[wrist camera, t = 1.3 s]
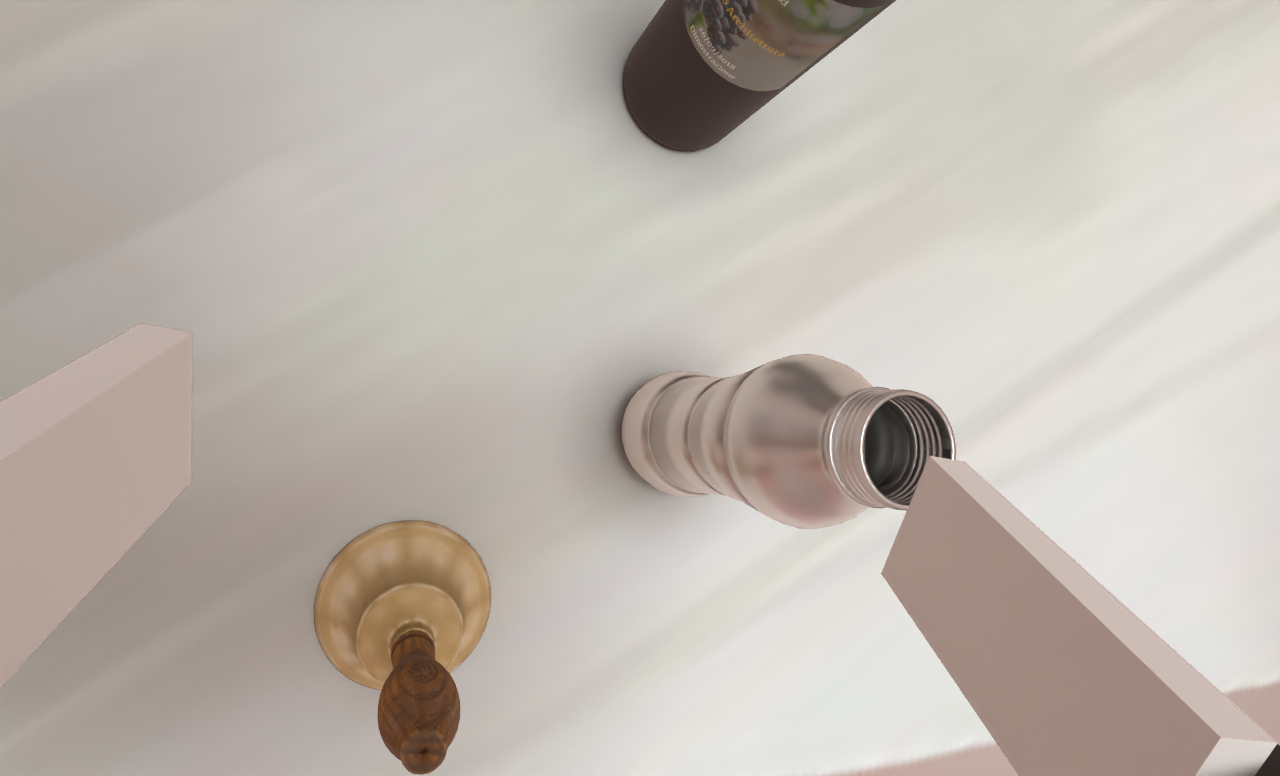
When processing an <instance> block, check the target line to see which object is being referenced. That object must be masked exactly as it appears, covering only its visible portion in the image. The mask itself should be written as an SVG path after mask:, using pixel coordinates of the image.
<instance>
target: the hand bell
mask: <svg viewBox="0 0 1280 776" xmlns="http://www.w3.org/2000/svg"><path fill="white" fill-rule="evenodd" d="M490 605H491V587H490V582H489V578H488V574H487V571H486V568H485V566H484V564H483V562H482V559H481V558H480V556H479V555H478V553H477V552H476V551H475V549H474V548H473V547H472V546H471V545H470V544H469V543H468V542H467V541H466V540H465V539H464V538H462V537H461V536H460V535H458V534H457V533H455V532H454V531H452V530H450V529H448V528H446V527H443V526H440V525H437V524H434V523H430V522H425V521H400V522H392V523H389V524H385V525H381V526H378V527H376V528H374V529H372V530H370V531H367V532H365V533H364V534H362V535H360V536H358V537H357V538H356V539H354V540H353V541H352V542H350V543H349V544H348V545H347V546H346V547H345V548H344V549H343V550H342V551H341V552H340V553H339V554H338V555H337V556H336V557H335V558H334V559H333V561H332V562H331V563H330V565H329V566H328V568H327V570H326V572H325V574H324V576H323V578H322V580H321V582H320V585H319V588H318V591H317V595H316V600H315V608H314V624H315V630H316V634H317V637H318V640H319V643H320V645H321V648H322V650H323V651H324V653H325V655H326V656H327V658H328V659H329V660H330V662H331V663H332V664H333V665H334V667H335V668H336V669H337V670H338V671H340V672H341V673H342V674H343V675H345V676H346V677H347V678H349V679H351V680H352V681H354V682H356V683H359V684H361V685H363V686H366V687H369V688H373V689H377V690H382V691H381V694H380V699H379V705H378V725H379V730H380V734H381V737H382V739H383V741H384V743H385V745H386V747H387V748H388V749H389V750H390V752H391V753H392V754H393V755H394V756H395V757H397V758H398V759H399V760H401V761H402V764H403V765H404V766H405V768H406V769H407V770H408V771H410V772H411V773H413V774H427V773H430V772H432V771H434V770H435V769H436V768H437V767H438V766H439V765H440V764H441V763H442V762H443V760H444V758H445V756H446V751H447V749H448V747H449V745H450V744H451V742H452V741H453V739H454V737H455V734H456V732H457V729H458V724H459V719H460V700H459V695H458V691H457V688H456V685H455V683H454V680H453V679H452V677H451V675H450V674H449V673H450V672H451V671H453V670H454V669H455V668H456V667H458V666H459V665H460V664H461V663H462V662H463V661H464V660H465V659H466V658H467V657H468V656H469V655H470V653H471V652H472V651H473V649H474V648H475V647H476V645H477V643H478V642H479V640H480V638H481V636H482V634H483V632H484V630H485V627H486V624H487V621H488V618H489V613H490Z"/></svg>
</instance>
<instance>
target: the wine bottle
mask: <svg viewBox="0 0 1280 776" xmlns="http://www.w3.org/2000/svg"><path fill="white" fill-rule="evenodd" d="M894 1H896V0H666V1H665V2H664V4H663V5H662V7H661V8H660V9H659V11H658V12H657V14H656V15H655V17H654V18H653V19H652V21H651V22H650V24H649V25H648V27H647V28H646V30H645V31H644V32H643V34H642V35H641V37H640V38H639V40H638V41H637V43H636V44H635V45H634V47H633V49H632V51H631V53H630V55H629V57H628V61H627V64H626V68H625V74H624V91H625V97H626V101H627V104H628V107H629V110H630V112H631V114H632V116H633V118H634V119H635V121H636V122H637V124H638V125H639V126H640V128H641V129H642V130H643V131H644V132H645V133H646V134H647V135H648V136H649V137H650V138H652V139H653V140H655V141H656V142H658V143H659V144H661V145H663V146H666V147H668V148H671V149H675V150H680V151H694V150H698V149H703V148H707V147H709V146H711V145H713V144H715V143H717V142H719V141H720V140H721V139H722V138H724V137H725V136H726V135H727V134H729V133H730V132H731V131H732V130H734V129H735V128H736V127H737V126H739V125H740V124H741V123H742V122H744V121H745V120H746V119H747V118H749V117H750V116H751V115H753V114H754V113H755V112H756V111H758V110H759V109H760V108H761V107H763V106H764V105H765V104H766V103H768V102H769V101H770V100H771V99H773V98H774V97H775V96H776V95H778V94H779V93H780V92H781V91H783V90H784V89H785V88H786V87H788V86H789V85H790V84H791V83H793V82H794V81H795V80H796V79H798V78H799V77H800V76H801V75H803V74H804V73H805V72H807V71H808V70H809V69H810V68H812V67H813V66H814V65H815V64H817V63H818V62H819V61H820V60H822V59H823V58H824V57H825V56H827V55H828V54H829V53H830V52H832V51H833V50H834V49H835V48H837V47H838V46H839V45H840V44H842V43H843V42H844V41H845V40H847V39H848V38H849V37H850V36H852V35H853V34H854V33H855V32H857V31H858V30H859V29H861V28H862V27H863V26H864V25H866V24H867V23H868V22H869V21H871V20H872V19H873V18H874V17H876V16H877V15H878V14H879V13H881V12H882V11H883V10H884V9H886V8H887V7H888V6H889V5H891V4H892V3H893V2H894Z"/></svg>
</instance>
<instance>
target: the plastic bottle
mask: <svg viewBox="0 0 1280 776" xmlns="http://www.w3.org/2000/svg"><path fill="white" fill-rule="evenodd" d="M622 441H623V447H624V450H625V453H626V456H627V458H628V460H629V462H630V464H631V465H632V467H633V468H634V469H635V471H636V472H637V473H638V474H639V475H640V476H641V477H642V478H643V479H644V480H646V481H647V482H648V483H649V484H650V485H652V486H653V487H654V488H656V489H658V490H660V491H662V492H663V493H666V494H670V495H673V496H682V497H692V496H701V495H708V494H723V495H726V496H728V497H731V498H734V499H737V500H740V501H742V502H744V503H745V504H747V505H749V506H751V507H752V508H754V509H756V510H758V511H759V512H761V513H762V514H764V515H766V516H768V517H770V518H771V519H773V520H776V521H779V522H781V523H783V524H786V525H789V526H793V527H796V528H801V529H818V528H824V527H829V526H833V525H837V524H841V523H843V522H846V521H848V520H850V519H853V518H854V517H856V516H857V515H859V514H860V513H861V512H863V511H864V510H865V509H867V508H868V507H872V508H886V507H887V508H892V509H897V510H908V507H909V505H910V502H911V500H912V497H913V495H914V492H915V490H916V488H917V485H918V483H919V480H920V478H921V475H922V473H923V471H924V468H925V466H926V463H927V461H928V458H929V456H934V457H940V458H946V459H952V460H956V446H955V438H954V434H953V431H952V427H951V425H950V423H949V421H948V419H947V417H946V415H945V414H944V412H943V411H942V409H941V408H940V407H939V406H938V405H937V404H936V403H935V402H934V401H933V400H931V399H930V398H928V397H927V396H925V395H923V394H920V393H918V392H913V391H909V390H890V389H888V388H882V387H873V386H872V385H871V384H870V383H869V382H868V381H867V380H866V379H865V378H864V377H863V376H862V375H861V374H860V373H858V372H857V371H855V370H854V369H852V368H850V367H849V366H847V365H844V364H842V363H839V362H837V361H834V360H831V359H829V358H826V357H823V356H819V355H812V354H799V355H791V356H788V357H784V358H781V359H777V360H774V361H771V362H768V363H766V364H764V365H762V366H760V367H757V368H755V369H753V370H751V371H748V372H746V373H744V374H741V375H736V376H732V377H727V378H713V377H710V376H707V375H704V374H699V373H693V372H686V371H676V372H669V373H666V374H663V375H660V376H658V377H656V378H655V379H653V380H651V381H650V382H648V383H647V384H645V385H644V386H643V387H642V388H641V389H640V390H638V391H637V392H636V393H635V395H634V396H633V397H632V399H631V400H630V402H629V404H628V406H627V408H626V410H625V413H624V417H623V421H622Z"/></svg>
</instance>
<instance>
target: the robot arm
mask: <svg viewBox="0 0 1280 776" xmlns="http://www.w3.org/2000/svg"><path fill="white" fill-rule="evenodd" d="M192 372H193V332H188V331H182V330H176V329H170V328H164V327H158V326H152V325H146V324H139V325H137V326H135V327H133V328H132V329H130V330H128V331H126V332H124V333H123V334H121V335H119V336H117V337H116V338H114V339H112V340H110V341H108V342H107V343H105V344H103V345H101V346H100V347H98V348H96V349H94V350H92V351H91V352H89V353H87V354H85V355H83V356H82V357H80V358H78V359H76V360H75V361H73V362H71V363H69V364H67V365H66V366H64V367H62V368H60V369H59V370H57V371H55V372H53V373H51V374H50V375H48V376H46V377H44V378H42V379H41V380H39V381H37V382H35V383H34V384H32V385H30V386H28V387H26V388H25V389H23V390H21V391H19V392H18V393H16V394H14V395H12V396H10V397H9V398H7V399H5V400H3V401H1V402H0V688H1V687H2V686H3V685H4V684H5V682H6V681H7V680H8V679H9V678H10V677H11V676H12V675H13V674H14V673H15V672H16V671H17V670H18V668H19V667H20V666H21V665H22V664H23V663H24V662H25V661H26V660H27V659H28V658H29V657H30V656H31V654H32V653H33V652H34V651H35V650H36V649H37V648H38V647H39V646H40V645H41V644H42V643H43V642H44V640H45V639H46V638H47V637H48V636H49V635H50V634H51V633H52V632H53V631H54V630H55V629H56V628H57V626H58V625H59V624H60V623H61V622H62V621H63V620H64V619H65V618H66V617H67V616H68V615H69V614H70V612H71V611H72V610H73V609H74V608H75V607H76V606H77V605H78V604H79V603H80V602H81V601H82V599H83V598H84V597H85V596H86V595H87V594H88V593H89V592H90V591H91V590H92V589H93V588H94V587H95V585H96V584H97V583H98V582H99V581H100V580H101V579H102V578H103V577H104V576H105V575H106V574H107V573H108V571H109V570H110V569H111V568H112V567H113V566H114V565H115V564H116V563H117V562H118V561H119V560H120V559H121V557H122V556H123V555H124V554H125V553H126V552H127V551H128V550H129V549H130V548H131V547H132V546H133V545H134V543H135V542H136V541H137V540H138V539H139V538H140V537H141V536H142V535H143V534H144V533H145V532H146V530H147V529H148V528H149V527H150V526H151V525H152V524H153V523H154V522H155V521H156V520H157V519H158V518H159V516H160V515H161V514H162V513H163V512H164V511H165V510H166V509H167V508H168V507H169V506H170V505H171V504H172V502H173V501H174V500H175V499H176V498H177V497H178V496H179V495H180V494H181V493H182V492H183V491H184V490H185V488H186V487H187V486H188V485H189V484H190V483H191V464H192ZM881 574H882V575H883V577H884V578H885V580H886V581H887V583H888V584H889V586H890V587H891V589H892V590H893V592H894V593H895V594H896V596H897V597H898V599H899V600H900V602H901V603H902V605H903V606H904V608H905V609H906V611H907V612H908V614H909V615H910V616H911V618H912V619H913V621H914V622H915V624H916V625H917V627H918V628H919V630H920V631H921V633H922V634H923V636H924V637H925V639H926V640H927V641H928V643H929V644H930V646H931V647H932V649H933V650H934V652H935V653H936V655H937V656H938V658H939V659H940V661H941V662H942V663H943V665H944V666H945V668H946V669H947V671H948V672H949V674H950V675H951V677H952V678H953V680H954V681H955V683H956V684H957V686H958V687H959V688H960V690H961V691H962V693H963V694H964V696H965V697H966V699H967V700H968V702H969V703H970V705H971V706H972V708H973V709H974V710H975V712H976V713H977V715H978V716H979V718H980V719H981V721H982V722H983V724H984V725H985V727H986V728H987V730H988V731H989V733H990V734H991V735H992V737H993V738H994V740H995V741H996V743H997V744H998V746H999V747H1000V749H1001V750H1002V752H1003V753H1004V754H1005V756H1006V757H1007V759H1008V760H1009V762H1010V763H1011V765H1012V766H1013V768H1014V769H1015V771H1016V772H1017V774H1018V775H1019V776H1280V746H1279V745H1278V744H1277V742H1276V741H1275V740H1274V739H1273V738H1272V737H1271V736H1269V735H1268V734H1267V733H1266V732H1265V731H1264V730H1263V729H1262V728H1260V727H1259V726H1258V725H1257V724H1256V723H1255V722H1254V721H1253V720H1252V719H1250V718H1249V717H1248V716H1247V715H1246V714H1245V713H1244V712H1243V711H1242V710H1241V709H1239V708H1238V707H1237V706H1236V705H1235V704H1234V703H1233V702H1232V701H1231V700H1229V699H1228V698H1227V697H1226V696H1225V695H1224V694H1223V693H1222V692H1221V691H1219V690H1218V689H1217V688H1216V687H1215V686H1214V685H1213V684H1212V683H1210V682H1209V681H1208V680H1207V679H1206V678H1205V677H1204V676H1203V675H1202V674H1200V673H1199V672H1198V671H1197V670H1196V669H1195V668H1194V667H1193V666H1192V665H1190V664H1189V663H1188V662H1187V661H1186V660H1185V659H1184V658H1183V657H1182V656H1180V655H1179V654H1178V653H1177V652H1176V651H1175V650H1174V649H1173V648H1172V647H1170V646H1169V645H1168V644H1167V643H1166V642H1165V641H1164V640H1163V639H1162V638H1160V637H1159V636H1158V635H1157V634H1156V633H1155V632H1154V631H1153V630H1152V629H1150V628H1149V627H1148V626H1147V625H1146V624H1145V623H1144V622H1143V621H1142V620H1140V619H1139V618H1138V617H1137V616H1136V615H1135V614H1134V613H1133V612H1131V611H1130V610H1129V609H1128V608H1127V607H1126V606H1125V605H1124V604H1123V603H1121V602H1120V601H1119V600H1118V599H1117V598H1116V597H1115V596H1114V595H1113V594H1111V593H1110V592H1109V591H1108V590H1107V589H1106V588H1105V587H1104V586H1103V585H1101V584H1100V583H1099V582H1098V581H1097V580H1096V579H1095V578H1094V577H1093V576H1091V575H1090V574H1089V573H1088V572H1087V571H1086V570H1085V569H1084V568H1083V567H1081V566H1080V565H1079V564H1078V563H1077V562H1076V561H1075V560H1074V559H1073V558H1071V557H1070V556H1069V555H1068V554H1067V553H1066V552H1065V551H1064V550H1063V549H1061V548H1060V547H1059V546H1058V545H1057V544H1056V543H1055V542H1054V541H1052V540H1051V539H1050V538H1049V537H1048V536H1047V535H1046V534H1045V533H1044V532H1042V531H1041V530H1040V529H1039V528H1038V527H1037V526H1036V525H1035V524H1034V523H1032V522H1031V521H1030V520H1029V519H1028V518H1027V517H1026V516H1025V515H1024V514H1022V513H1021V512H1020V511H1019V510H1018V509H1017V508H1016V507H1015V506H1014V505H1012V504H1011V503H1010V502H1009V501H1008V500H1007V499H1006V498H1005V497H1004V496H1002V495H1001V494H1000V493H999V492H998V491H997V490H996V489H995V488H994V487H992V486H991V485H990V484H989V483H988V482H987V481H986V480H985V479H983V478H982V477H981V476H980V475H979V474H978V473H977V472H976V471H975V470H973V469H972V468H971V467H970V466H969V465H968V464H967V463H966V462H964V461H958V460H952V459H946V458H940V457H934V456H929V458H928V461H927V463H926V466H925V468H924V471H923V473H922V475H921V478H920V480H919V483H918V485H917V488H916V490H915V492H914V495H913V497H912V500H911V502H910V505H909V507H908V510H907V512H906V514H905V517H904V519H903V522H902V524H901V527H900V529H899V532H898V534H897V536H896V539H895V541H894V544H893V546H892V549H891V551H890V553H889V556H888V558H887V561H886V563H885V566H884V568H883V571H882V573H881Z"/></svg>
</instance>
